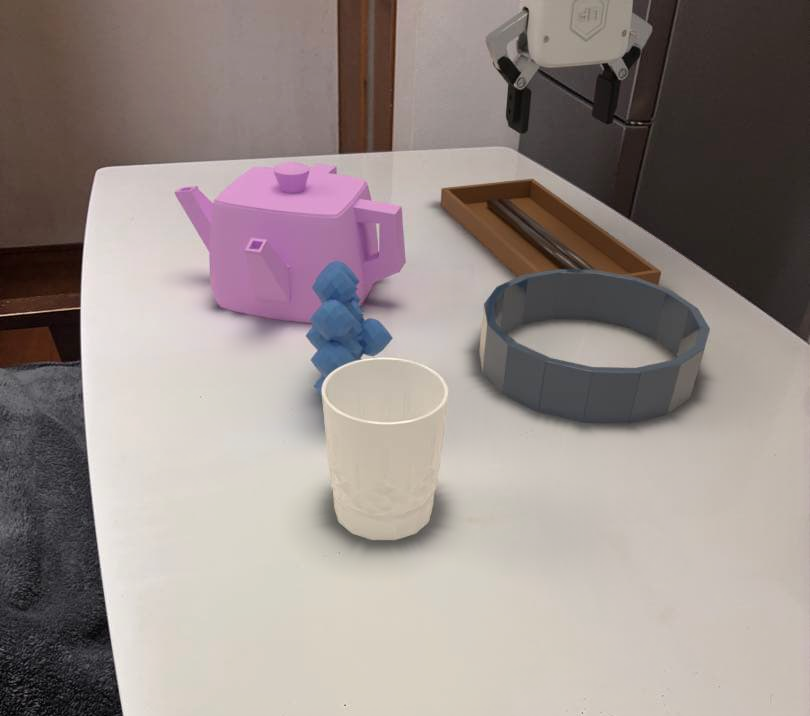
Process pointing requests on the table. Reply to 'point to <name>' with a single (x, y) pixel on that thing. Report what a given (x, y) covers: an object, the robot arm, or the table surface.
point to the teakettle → (292, 237)
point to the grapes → (341, 323)
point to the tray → (552, 216)
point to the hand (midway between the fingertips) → (560, 125)
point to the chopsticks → (537, 235)
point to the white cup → (384, 444)
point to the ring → (579, 384)
